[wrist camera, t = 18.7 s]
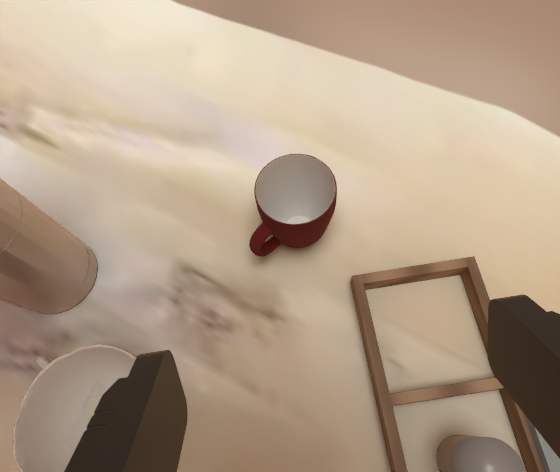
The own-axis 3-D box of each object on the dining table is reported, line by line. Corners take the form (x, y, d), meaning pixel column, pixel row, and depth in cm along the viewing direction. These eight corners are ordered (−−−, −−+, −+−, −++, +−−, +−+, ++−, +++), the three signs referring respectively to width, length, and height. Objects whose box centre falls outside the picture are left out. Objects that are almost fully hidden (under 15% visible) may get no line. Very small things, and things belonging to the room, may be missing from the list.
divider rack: (410, 558, 37) (419, 571, 34) (350, 283, 47) (352, 272, 44) (568, 534, 37) (592, 545, 33) (473, 263, 47) (484, 251, 44)
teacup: (208, 412, 43) (186, 409, 36) (116, 522, 40) (70, 544, 32) (114, 318, 48) (77, 299, 40) (24, 410, 44) (-33, 407, 37)
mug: (291, 293, 47) (285, 261, 38) (238, 252, 50) (220, 213, 41) (347, 224, 50) (353, 180, 41) (293, 189, 53) (288, 140, 44)
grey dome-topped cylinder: (445, 492, 39) (474, 508, 31) (430, 439, 40) (455, 442, 33) (493, 484, 38) (534, 498, 31) (476, 431, 40) (511, 433, 33)
